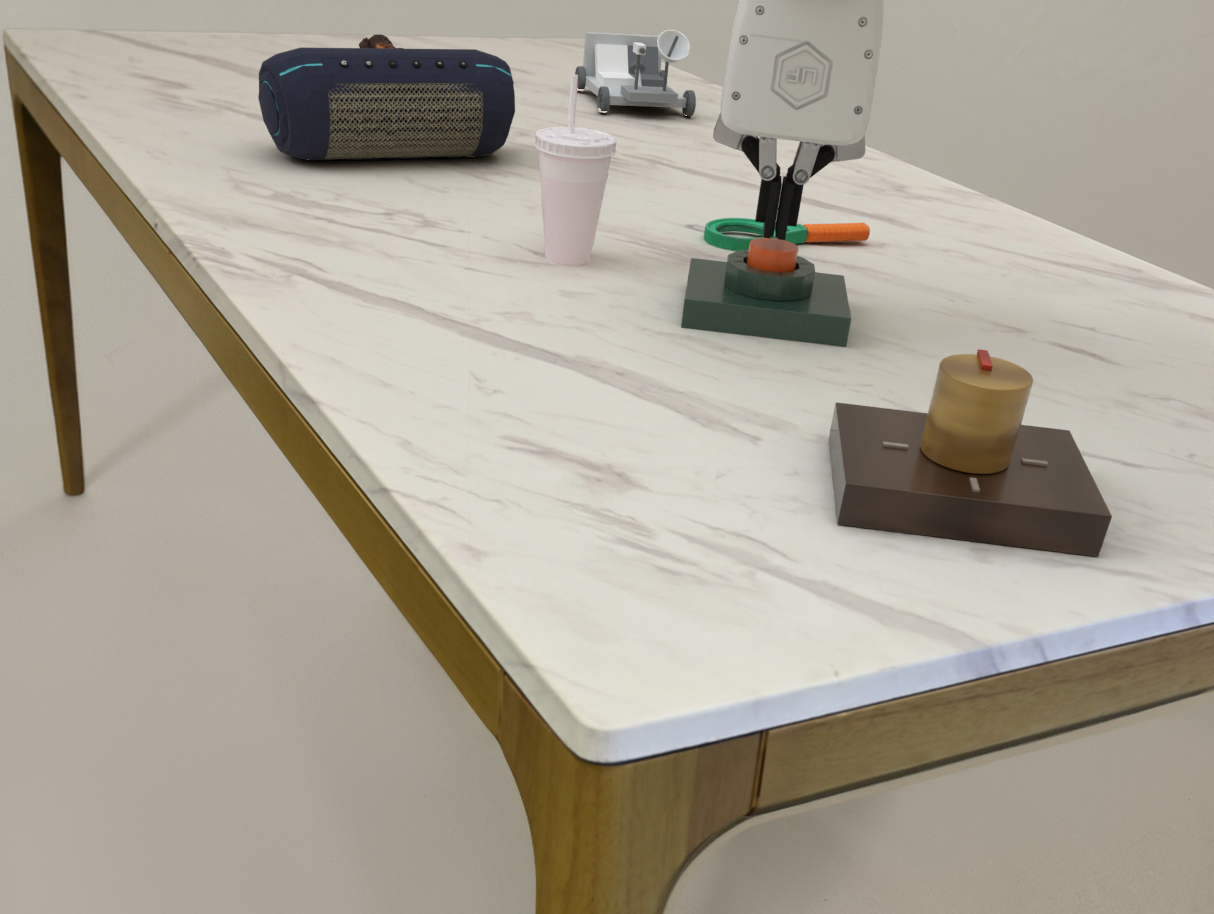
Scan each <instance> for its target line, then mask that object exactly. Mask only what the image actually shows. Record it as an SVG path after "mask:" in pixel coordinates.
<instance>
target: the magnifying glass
mask: <svg viewBox="0 0 1214 914" xmlns="http://www.w3.org/2000/svg"><path fill="white" fill-rule="evenodd" d="M755 219H756V218H749V217H722V218H717V219H712V220H709V221H708V222H706V223H705V225H704V231H703V232H704V233H703V240H704V241H705V242H706V243H707V244H709V245H710V246H712V247H716V248H719V249H722V250H726V251H732V252H737V251H739V250H749V244H750V241H751V240H753V239H757V238H763V226H764V223H761V222H755ZM775 225H776V224H775ZM728 232H729V233H730V232H733V233H734V232H735V233H749V234H755V235H759V237H742V236H733V235H728V234H724V233H728ZM870 233H871V228H870V226H869V225H868V224H867V223H866V222H841V223H840V222H839V223H838V222H837V223H805V224H801V223H797V226H796V227H795V226H787V232H786V238H785V241H788V242H791V243H793V244H795V245H797V244H804V243H833V242H834V243H835V242H837V243H838V242H863V241H864V242H865V241H867V240H868V239H869V237H870ZM760 236H761V237H760ZM771 238H775V239H778V238H777V237H775V230H774V236H773V237H771Z"/></svg>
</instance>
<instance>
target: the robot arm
mask: <svg viewBox="0 0 1214 914" xmlns="http://www.w3.org/2000/svg"><path fill="white" fill-rule="evenodd" d="M884 9H885V0H738V3H737V7H736V13H735V17H734V20H733V25H732V31H731V36H730V42H729V47H728V51H727V52H728V53H727V58H726V63H725V70H724V76H723V81H722V90H721V99H720V112H719V114H718V118H717V120H716V123H715V125H714V127H713V128H714V129H713V134H712V137H713V141H715V142H716V143H718V144H720V145H723V146H726V147H729V148H731V149H732V150H733V149H734V150H735V151H736V150H737V151H739V152H742V153H743V154H744V155H745V156H746V158H747V160H749V162H750V163H751V165H752V166H753V167H754V169H755V170H756V171H757V173H758V174H759V177H760V186H759V192H758V193H759V194H758V199H757V205H756V212H755V218H754V219H755V222H761V223H764V226H763V236H762V237H763V238H771V237H773V236H774V230H775V237H777V238H778V240H785V238H786V232H787V226H795V227H796V226H797V224H798V221H799V213H800V208H801V202H802V197H803V192H804V185H806V184H808V183H809V181H810V179H811V178H813V177H814V176H815V175H817V174H818V173H819V172H820V171H822V170H823V169H825V168H826V167H827V166H828V165H829V164H831V163H833V162H837V163H839V162H846V161H853V160H860V159H862V158H863V157H864V156H865V154H866V132H867V131H868V126H869V122H870V117H871V113H872V109H873V108H872V107H873V102H874V96H875V88H876V83H877V82H876V81H877V75H878V74H877V73H878V69H879V61H880V52H881V46H882V36H883V35H882V34H883V26H884V25H883V24H884ZM778 140H786V141H793V142H798V146H797V149H796V152H795V155H794V159H793V162H792V165H790V166H789V167H788V168H787V172H786V173H785V175H783V177H782V175H781V167H780V165H779V163H778V161H777V159H778V158H777V157H778V156H777V152H778V149H777V148H778ZM775 224H776V225H775Z"/></svg>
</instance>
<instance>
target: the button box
mask: <svg viewBox="0 0 1214 914" xmlns="http://www.w3.org/2000/svg"><path fill="white" fill-rule="evenodd" d="M748 251H749V250H739V251H733V252H731V253H729V254H728V255H727V259H726V261H722V260H713V259H705V258H696V257H691V258H690V263H689V269H688V275H687V281H686V287H685V293H684V300H683V308H682V316H681V324H680V327H681V329H689V330H698V331H706V332H713V333H723V334H732V335H739V336H748V337H755V338H756V337H757V338H764V339H774V340H782V341H790V342H799V343H807V344H815V345H824V346H825V345H826V346H833V347H841V348H846V347H847V344H848V338H849V333H850V330H851V329H850V328H851V324H852V314H851V309H850V308H851V307H850V303H849V297H848V291H847V286H846V285H847V284H846V280H845V276H844V275H843V274H842V275H841V274H835V273H834V274H833V273H824V272H818V271H817V272H816V266H815V264H814V263H812V262H811V261H810V260H809V259H808V260H807V259H806V258H804V257H803V256H799V255H797V260H796V266H795V271H793V272H781V273H779V272H771V271H763V270H760V269H756V268H753V267H750V266H749V265H747V258H748Z"/></svg>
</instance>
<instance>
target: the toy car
mask: <svg viewBox="0 0 1214 914" xmlns="http://www.w3.org/2000/svg"><path fill="white" fill-rule="evenodd" d="M584 35H585V36H584V49H583V61H582V65H578V66H576V68H575V71H574V74H576V75H578V84H577V88H578V89H586V88H587V89H588V90H589V91H591V92H592V94H594V95H595V96H596V97H597V98H596V105H597V109H598V108H600V109H601V111H608V112H609V110H610V106H626V107H627V106H630V107H654V108H655V107H656V108H678V109H681V110H682V114H683V113H684V114H685V115H687V116H692V117H693V116H694V114H695V112H696V105H697V97H696V92H695V91H694V89H693V90H692V89H686V90H685V91H684V92H683V95H682V94H680V93H679V92H678V91H676V90H675V89H674V88H672V87H671V86H669V85H668V75H669V65H670V64H673V63H677V62H680V61H682V60H684V59H686V58H687V56H688V55H689V54H690V52H691V44H690V41H689V38H688V37H687V36H686V35H685V34H683V33H682V32H681V31H679V30H677V29H666V30H663V31H662V32H660V33H659V35H652V34H651V35H650V34H633V33H616V32H615V33H614V32H596V31H585V33H584ZM662 60H663V61H664V62H665V64H664V69H661V68H662Z"/></svg>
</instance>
